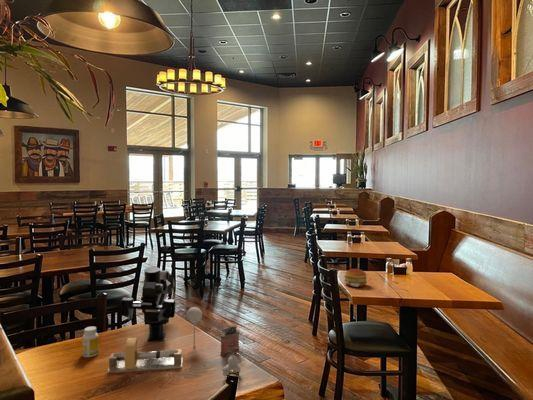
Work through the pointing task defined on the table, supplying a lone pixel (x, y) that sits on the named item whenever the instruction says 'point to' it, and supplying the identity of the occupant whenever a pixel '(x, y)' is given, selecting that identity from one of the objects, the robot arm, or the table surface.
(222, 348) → the lighter
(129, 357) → the tan wooden block
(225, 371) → the rubber duck
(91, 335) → the supplement bottle
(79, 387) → the table surface
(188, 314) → the lollipop
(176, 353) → the grey piece
